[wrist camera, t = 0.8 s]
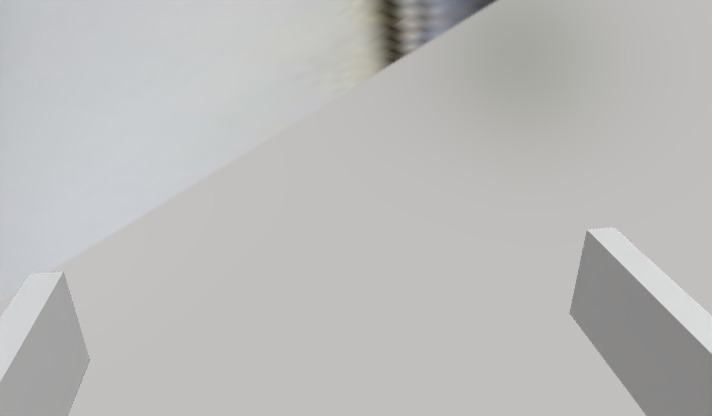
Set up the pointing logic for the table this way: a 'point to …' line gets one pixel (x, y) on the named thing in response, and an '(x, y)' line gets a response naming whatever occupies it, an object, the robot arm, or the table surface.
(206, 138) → the table surface
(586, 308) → the robot arm
